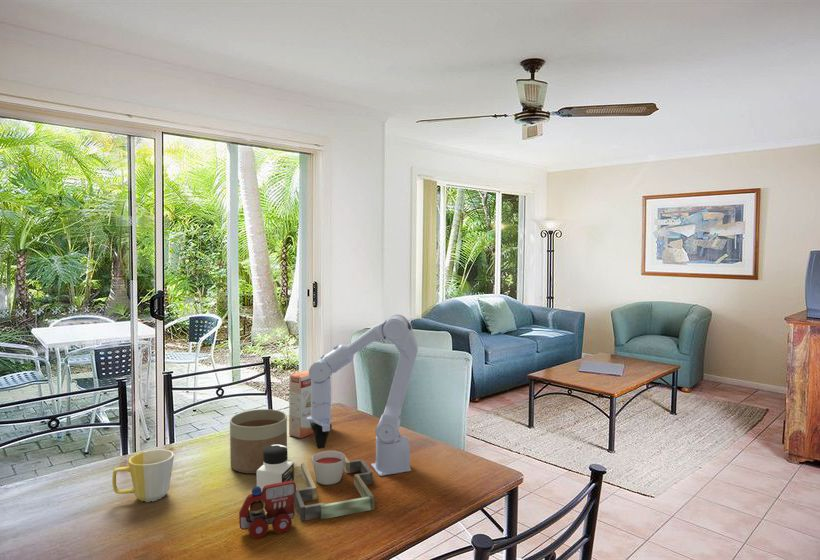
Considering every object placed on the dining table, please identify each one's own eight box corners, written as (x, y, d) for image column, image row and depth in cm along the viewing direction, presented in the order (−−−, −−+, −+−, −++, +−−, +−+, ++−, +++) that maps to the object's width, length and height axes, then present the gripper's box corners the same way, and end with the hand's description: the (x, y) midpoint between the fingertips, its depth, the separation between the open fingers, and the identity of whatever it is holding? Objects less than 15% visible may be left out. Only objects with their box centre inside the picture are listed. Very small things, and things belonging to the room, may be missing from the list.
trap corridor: (359, 465, 153) (359, 455, 153) (389, 506, 129) (389, 494, 129) (284, 476, 145) (284, 466, 144) (301, 523, 121) (301, 510, 120)
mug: (178, 485, 139) (177, 447, 138) (170, 504, 129) (169, 462, 128) (121, 491, 135) (120, 451, 135) (108, 510, 126) (107, 468, 125)
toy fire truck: (238, 526, 119) (237, 482, 118) (293, 516, 124) (292, 473, 123) (240, 542, 113) (239, 495, 112) (298, 531, 117) (298, 486, 117)
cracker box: (301, 439, 172) (301, 377, 171) (288, 435, 176) (288, 374, 174) (330, 427, 184) (330, 368, 183) (317, 424, 187) (317, 366, 186)
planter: (266, 479, 143) (266, 429, 142) (218, 470, 148) (217, 423, 147) (297, 457, 158) (297, 412, 157) (252, 450, 163) (252, 406, 162)
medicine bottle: (282, 500, 131) (282, 453, 131) (256, 497, 133) (255, 451, 132) (294, 487, 138) (294, 443, 138) (269, 484, 140) (268, 441, 139)
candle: (345, 486, 140) (345, 462, 139) (311, 488, 138) (311, 464, 138) (344, 471, 148) (344, 449, 148) (312, 473, 147) (312, 451, 147)
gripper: (302, 396, 156) (302, 440, 157) (312, 410, 143) (312, 459, 144) (325, 393, 159) (325, 437, 160) (337, 407, 145) (337, 455, 146)
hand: (320, 447), depth 152 cm, fingers closed
